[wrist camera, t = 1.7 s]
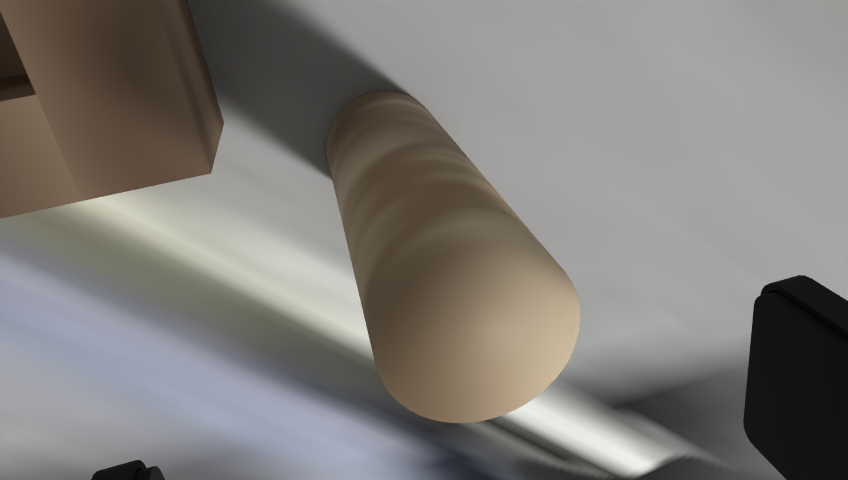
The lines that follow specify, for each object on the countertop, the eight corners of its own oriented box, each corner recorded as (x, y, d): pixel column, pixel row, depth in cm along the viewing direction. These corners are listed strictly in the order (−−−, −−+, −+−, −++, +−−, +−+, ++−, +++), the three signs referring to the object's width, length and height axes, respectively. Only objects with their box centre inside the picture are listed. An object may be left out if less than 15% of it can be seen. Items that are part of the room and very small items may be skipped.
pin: (430, 79, 22) (575, 219, 12) (446, 187, 24) (584, 393, 13) (314, 103, 22) (353, 271, 11) (339, 211, 24) (394, 444, 13)
